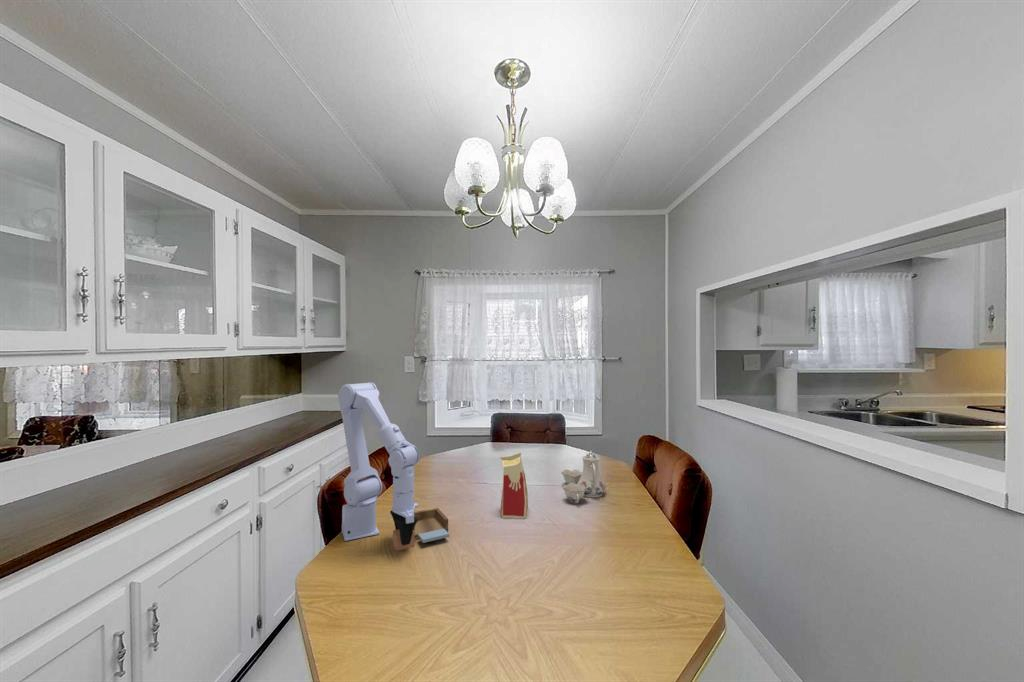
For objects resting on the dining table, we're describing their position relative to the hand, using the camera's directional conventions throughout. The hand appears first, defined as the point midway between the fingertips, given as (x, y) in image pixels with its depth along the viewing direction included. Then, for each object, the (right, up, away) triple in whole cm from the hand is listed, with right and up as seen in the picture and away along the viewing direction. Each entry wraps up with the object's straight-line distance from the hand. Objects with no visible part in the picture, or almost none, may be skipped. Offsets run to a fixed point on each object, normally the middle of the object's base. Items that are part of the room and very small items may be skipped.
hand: (403, 540), depth 112 cm
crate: (+4, -2, +9) cm, 10 cm away
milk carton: (+30, -2, +22) cm, 38 cm away
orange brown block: (0, -2, 0) cm, 2 cm away
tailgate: (+7, 0, +4) cm, 8 cm away
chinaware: (+57, -3, +41) cm, 70 cm away
